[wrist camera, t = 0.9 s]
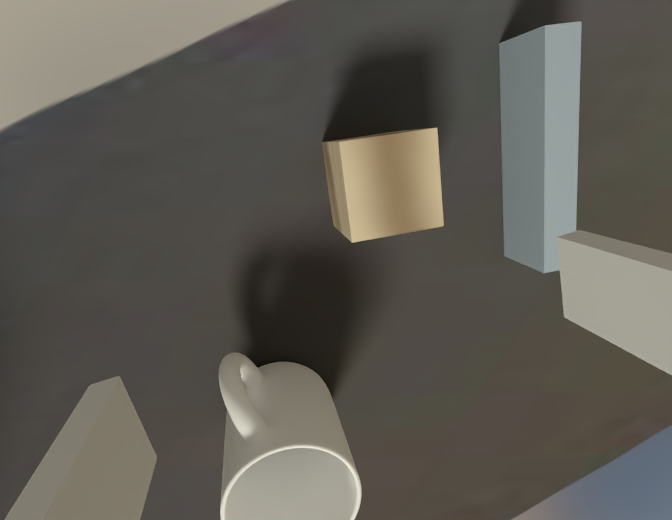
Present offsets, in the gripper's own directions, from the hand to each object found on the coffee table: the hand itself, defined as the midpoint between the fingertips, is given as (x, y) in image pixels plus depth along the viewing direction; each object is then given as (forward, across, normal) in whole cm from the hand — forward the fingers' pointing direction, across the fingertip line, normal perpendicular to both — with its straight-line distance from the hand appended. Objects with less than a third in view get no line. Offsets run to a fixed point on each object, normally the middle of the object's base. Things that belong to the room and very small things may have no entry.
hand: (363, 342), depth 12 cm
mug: (+20, -5, -12) cm, 24 cm away
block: (+20, +6, +2) cm, 21 cm away
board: (+20, +18, 0) cm, 27 cm away
